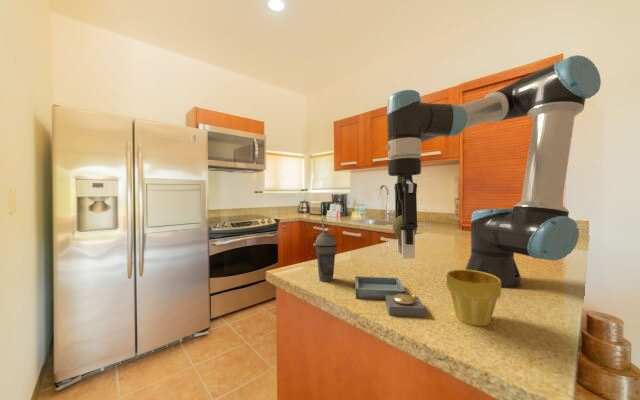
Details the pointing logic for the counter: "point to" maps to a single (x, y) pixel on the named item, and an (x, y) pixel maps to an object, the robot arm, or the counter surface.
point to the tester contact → (404, 299)
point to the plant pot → (473, 295)
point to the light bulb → (397, 231)
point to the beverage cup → (325, 255)
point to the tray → (377, 287)
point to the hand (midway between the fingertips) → (405, 254)
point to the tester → (404, 307)
